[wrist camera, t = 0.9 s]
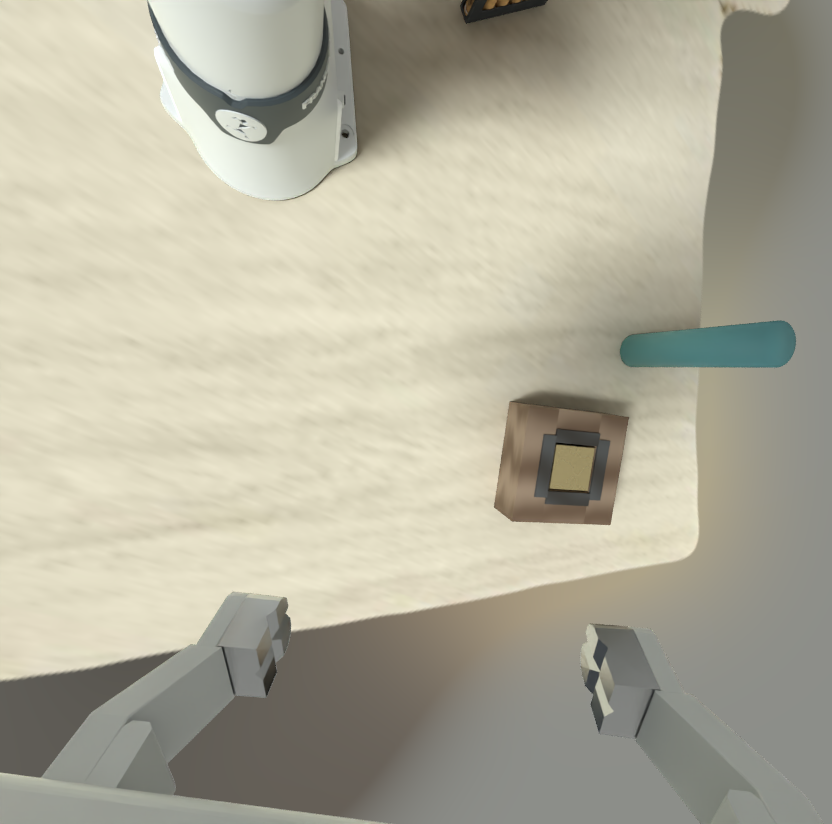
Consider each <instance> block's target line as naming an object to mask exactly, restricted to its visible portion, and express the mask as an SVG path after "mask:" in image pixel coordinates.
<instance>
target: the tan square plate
mask: <svg viewBox="0 0 832 824" xmlns="http://www.w3.org/2000/svg"><path fill="white" fill-rule="evenodd" d="M594 450H595V448H592V447H587V446H576V445H566V444H555V450H554V457H553V463H552V469H551V476H550V482H549V488H550V489H565V490H581V491H588V486H589V480H590V474H591V468H592V462H593V456H594Z"/></svg>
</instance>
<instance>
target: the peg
mask: <svg viewBox="0 0 832 824" xmlns="http://www.w3.org/2000/svg"><path fill="white" fill-rule="evenodd" d="M795 345H796V337H795V333H794V330H793V328H792V327H791V325H790V324H788V323H787V322H785V321H770V322H759V323H749V324H739V325H729V326H718V327H709V328H698V329H687V330H677V331H667V332H656V333H646V334H636V335H630V336H628V337H627V338H626V339H625V340H624V341H623V342H622V345H621V348H620V356H621V359H622V361H623V362H624V363H625V364H626V365H627V366H630V367H781V366H783V365H785V364H786V363H787V362H788V361H789V360H790V359H791V357H792V355H793V353H794V350H795Z"/></svg>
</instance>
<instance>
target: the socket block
mask: <svg viewBox="0 0 832 824" xmlns="http://www.w3.org/2000/svg"><path fill="white" fill-rule="evenodd" d="M628 420H629V417H624V416H618V415H612V414H606V413H599V412H591V411H582V410H574V409H566V408H558V407H549V406H541V405H533V404H525V403H516V402H510V403H509V409H508V416H507V423H506V430H505V437H504V443H503V450H502V457H501V464H500V471H499V477H498V484H497V491H496V498H495V504H494V508H496V509H497V510H498V511H500V512H501V513H502V514H503V515H505V516H506V517H507V518H508V519H510V520H511V521H516V522H543V523H570V524H597V525H610V524H611V518H612V512H613V507H614V501H615V495H616V489H617V483H618V478H619V472H620V466H621V460H622V454H623V449H624V443H625V437H626V431H627V425H628ZM556 442H557V443H567V444H571V445H576V446H587V447H592V448H595V450H594V456H593V462H592V468H591V474H590V480H589V486H588V491H581V490H565V489H550V488H549V482H550V476H551V469H552V463H553V457H554V450H555V444H556Z"/></svg>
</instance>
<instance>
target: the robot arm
mask: <svg viewBox="0 0 832 824" xmlns="http://www.w3.org/2000/svg"><path fill="white" fill-rule="evenodd" d="M147 1H148V7H149V13H150V17H151V20H152V23H153V26H154V29H155V34H156V37H157V39H158V42H159V45H158V47H155V48H154V54H155V58H156V61H157V64H158V66H159V69H160V72H161V74H162V77H163V79H164V81H163V85H162V88H161V91H160V99H161V102H162V104H163V107H164V109H165V110H166V112H167V113H168V114H169V115H170V116H171V117H172V118H173V120H175V121H176V122H177V123H178V124H179V125H180V126H181V127H182V128H183V129H184V130H186V132H187V133H188V134H189V136H190V137H191V139H192V141H193V143H194V145H195V147H196V149H197V150H198V152H199V154H200V156H201V157H202V159H203V160H204V162H205V163H206V164H207V166H208V167H209V168H210V169H211V170H212V171H213V173H214V174H215V175H217V176H218V177H219V178H220V179H221V180H222V181H223V182H225V183H226V184H227V185H229V186H230V187H232V188H234V189H235V190H237V191H239V192H241V193H243V194H246V195H249V196H252V197H255V198H259V199H264V200H286V199H291V198H294V197H297V196H300V195H302V194H304V193H306V192H308V191H310V190H311V189H313V188H314V187H315V186H316V185H317V184H318V183H319V182H320V181H321V180H322V179H323V178H324V177H325V176H326V175H327V174H328V173H329V172H330V171H331V170H332V169H333V168H336V167H339V166H341V165H344V164H346V163H348V162H350V161H352V160H353V159H354V158H355V157H356V155H357V134H356V121H355V107H354V94H353V80H352V67H351V53H350V40H349V26H348V14H347V7H346V4H345V2H344V1H343V0H147ZM342 133H346V134H348V136H349V137H348V138H344V137H343V136H342V135H341V134H342ZM287 609H288V602H287V598H285V597H278V596H269V595H261V594H252V593H242V592H232V593H231V594H229V595H228V596H227V597H226V599H225V601H224V602H223V604H222V605H221V607H220V608H219V610H218V611H217V613H216V614H215V616H214V618H213V619H212V621H211V622H210V624H209V625H208V627H207V628H206V630H205V632H204V633H203V635H202V636H201V638H200V639H199V641H198V642H197V644H196V645H195V644H190V645H189V646H188V647H186V648H185V649H183V650H182V651H180V652H179V653H177V654H176V655H174V656H173V657H172V658H170V659H169V660H167V661H166V662H164V663H163V664H161V665H160V666H159V667H157V668H156V669H154V670H153V671H151V672H150V673H148V674H147V675H145V676H144V677H142V678H141V679H140V680H138V681H137V682H135V683H134V684H132V685H131V686H129V687H128V688H126V689H125V690H124V691H122V692H121V693H119V694H118V695H116V696H115V697H114V698H112V699H110V700H109V701H108V702H106V703H105V704H103V705H102V706H100V707H99V708H98V709H96V710H94V711H93V712H92V713H90V715H89V716H88V717H87V719H86V720H85V721H84V723H83V724H82V725H81V727H80V728H79V729H78V730H77V732H76V733H75V734H74V736H73V737H72V738H71V739H70V741H69V742H68V743H67V745H66V746H65V747H64V748H63V750H62V751H61V752H60V754H59V755H58V756H57V758H56V759H55V760H54V761H53V763H52V764H51V765H50V766H49V768H48V769H47V771H46V772H45V773H44V774H43V776H42V777H41V778H37V777H29V776H21V775H13V774H6V773H0V824H389V823H381V822H374V821H366V820H359V819H351V818H343V817H335V816H328V815H320V814H313V813H305V812H298V811H290V810H282V809H275V808H274V809H273V808H266V807H259V806H251V805H244V804H236V803H228V802H220V801H213V800H205V799H198V798H189V797H182V796H175V795H173V794H174V792H175V790H176V787H175V782H174V779H173V777H172V775H171V772H170V770H169V767H168V765H167V763H168V762H169V761H170V760H171V759H172V758H173V757H175V756H176V754H178V752H180V751H181V750H182V749H183V748H184V747H185V746H186V745H187V743H189V742H190V741H191V740H192V739H193V738H194V737H195V736H196V735H197V734H198V732H200V731H201V730H202V729H203V728H204V727H205V726H206V725H207V724H208V723H209V722H210V721H211V720H212V719H213V718H214V717H215V716H216V715H217V714H218V713H219V712H220V711H221V710H222V709H223V708H224V707H225V706H226V705H227V704H228V703H229V702H230V701H231V700H232V699H233V698H234V695H238V696H252V697H264V698H266V697H267V695H268V692H269V690H270V688H271V685H272V683H273V681H274V678H275V676H276V673H277V669H276V662H277V661H278V660H279V659H280V658H282V657H283V656H284V654H285V651H286V649H287V646H288V643H289V638H290V634H291V620H290V618H289V617H288V615H287V614H286V611H287ZM586 637H587V640H588V641H587V642H586V643H585V644H583V645H582V649H581V654H580V664H581V671H582V677H583V680H584V684H585V686H586V687H587V688H588V690H589V691H590V692H591V693H592V694H593V697H592V701H591V708H592V712H593V715H594V718H595V721H596V725H597V728H598V732H599V734H605V735H611V736H618V737H626V738H633V739H636V742H637V743H638V745H639V746H640V747H641V749H642V750H643V751H644V752H645V754H646V755H647V756H648V758H649V759H650V760H651V761H652V763H653V764H654V765H655V766H656V768H657V769H658V770H659V772H660V773H661V774H662V775H663V776H664V778H665V779H666V780H667V782H668V783H669V784H670V786H671V787H672V788H673V789H674V791H675V792H676V793H677V794H678V796H679V797H680V798H681V799H682V801H683V802H684V803H685V805H686V806H687V807H688V809H689V810H690V811H691V812H692V814H693V815H694V816H695V817H696V819H697V820H698V821H699V823H700V824H824V823H823V821H822V820H821V818H820V817H819V815H818V813H817V812H816V810H815V809H814V807H813V805H812V804H811V802H810V801H809V799H808V798H807V796H806V795H804V794H803V793H802V792H801V791H800V790H799V789H798V788H797V787H795V786H794V785H793V784H792V783H791V782H790V781H789V780H788V779H786V778H785V777H784V776H783V775H782V774H781V773H780V772H779V771H777V770H776V769H775V768H774V767H773V766H772V765H771V764H770V763H769V762H767V761H766V760H765V759H764V758H763V757H762V756H761V755H760V754H759V753H757V752H756V751H755V750H754V749H753V748H752V747H751V746H750V745H748V744H747V743H746V742H745V741H744V740H743V739H742V738H741V737H739V736H738V735H737V734H736V733H735V732H734V731H733V730H732V729H731V728H729V727H728V726H727V725H726V724H725V723H724V722H723V721H721V720H720V719H719V718H718V717H717V716H716V715H715V714H714V713H713V712H711V711H710V710H709V709H708V708H707V707H706V706H705V705H704V704H703V703H701V702H700V701H699V700H698V699H697V698H696V697H695V696H694V695H692V694H687V693H685V691H684V689H683V687H682V685H681V683H680V682H679V679H678V678H677V676H676V674H675V672H674V670H673V668H672V666H671V664H670V662H669V660H668V658H667V656H666V654H665V652H664V650H663V648H662V646H661V644H660V642H659V640H658V638H657V636H656V635H655V633H654V632H653V631H652V630H651V629H648V628H636V627H628V626H617V625H603V624H589V625H588V627H587V629H586Z"/></svg>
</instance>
